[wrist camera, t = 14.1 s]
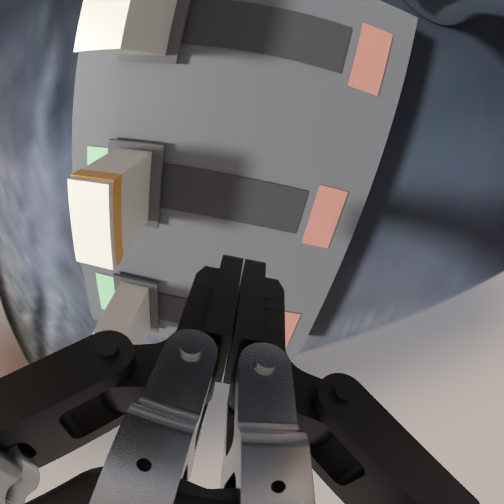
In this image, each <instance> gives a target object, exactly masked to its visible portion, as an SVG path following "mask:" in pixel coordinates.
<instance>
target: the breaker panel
mask: <svg viewBox="0 0 504 504" xmlns="http://www.w3.org/2000/svg"><path fill="white" fill-rule="evenodd" d="M417 20H418V18H417V17H415V16H413V15H411V14H409V13H407V12H404V11H402V10H400V9H398V8H396V7H394V6H391V5H389V4H387V3H384V2H382V1H379V0H191V3H190V7H189V11H188V15H187V20H186V24H185V29H184V33H183V38H182V43H181V48H180V53H179V59H178V64H167V63H142V62H117V56H118V54H111V53H90V52H79V54H78V61H77V69H76V78H75V89H74V101H73V120H72V173H74V172H76V171H77V170H79V169H83V168H85V167H86V166H88V165H89V164H91V163H93V162H94V161H96V160H98V159H99V158H101V157H103V156H104V155H106V154H108V140H109V139H120V140H130V141H139V142H148V143H156V144H164V145H165V152H164V162H163V173H162V185H161V199H160V217H159V227H158V228H153V227H147V226H144V227H143V228H142V230H141V231H140V232H139V234H138V235H137V236H136V238H135V239H134V241H133V242H132V244H131V245H130V246H129V248H128V249H127V251H126V252H125V254H124V255H123V259H122V261H121V262H120V264H119V265H118V267H115V269H114V270H110V269H105V268H101V267H97V266H93V265H89V264H85V263H82V270H83V275H84V281H85V286H86V291H87V296H88V301H89V305H90V310H91V314H92V319H95V320H100V318H101V316H102V314H103V312H104V311H105V309H106V307H107V305H108V304H109V302H110V300H111V298H112V297H113V295H114V293H115V288H114V279H113V274H114V273H118V274H122V275H126V276H130V277H135V278H139V279H143V280H148V281H152V282H157V283H158V313H159V332H158V333H156V332H152V331H149V333H148V334H150V335H155V336H159V337H163V338H167V339H168V337H169V336H170V335H172V334H173V333H175V331H176V330H177V327H178V325H179V322H180V319H181V316H182V313H183V310H184V307H185V304H186V301H187V298H188V295H189V292H190V290H191V287H192V284H193V281H194V278H195V276H196V273H197V272H199V271H200V270H201V269H202V268H203V267H204V266H210V267H215V268H220V264H221V261H222V257H223V254H224V255H229V256H234V257H239V258H244V260H243V266H242V272H243V267H244V263H245V259H250V260H255V261H260V262H265V263H266V276H265V277H266V278H272V279H277V280H279V282H280V284H281V285H282V287H283V289H284V296H285V302H284V304H285V348H286V353H287V355H288V357H289V359H290V360H294V361H295V360H296V358H297V356H298V354H299V352H300V350H301V348H302V346H303V344H304V342H305V340H306V338H307V336H308V334H309V332H310V330H311V328H312V326H313V324H314V322H315V320H316V318H317V316H318V313H319V311H320V309H321V307H322V305H323V303H324V301H325V298H326V296H327V294H328V292H329V290H330V287H331V285H332V283H333V281H334V278H335V276H336V274H337V272H338V269H339V267H340V265H341V262H342V260H343V258H344V255H345V253H346V250H347V248H348V246H349V243H350V241H351V238H352V236H353V233H354V231H355V228H356V226H357V223H358V221H359V218H360V215H361V213H362V210H363V208H364V205H365V202H366V199H367V197H368V194H369V191H370V189H371V186H372V183H373V180H374V177H375V174H376V172H377V169H378V166H379V163H380V160H381V157H382V154H383V151H384V148H385V144H386V141H387V138H388V135H389V132H390V128H391V125H392V122H393V118H394V115H395V112H396V108H397V105H398V101H399V97H400V94H401V90H402V86H403V82H404V79H405V75H406V71H407V66H408V62H409V58H410V54H411V49H412V45H413V40H414V35H415V30H416V25H417ZM242 272H241V276H242ZM240 281H241V279H240ZM239 286H240V285H239Z"/></svg>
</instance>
